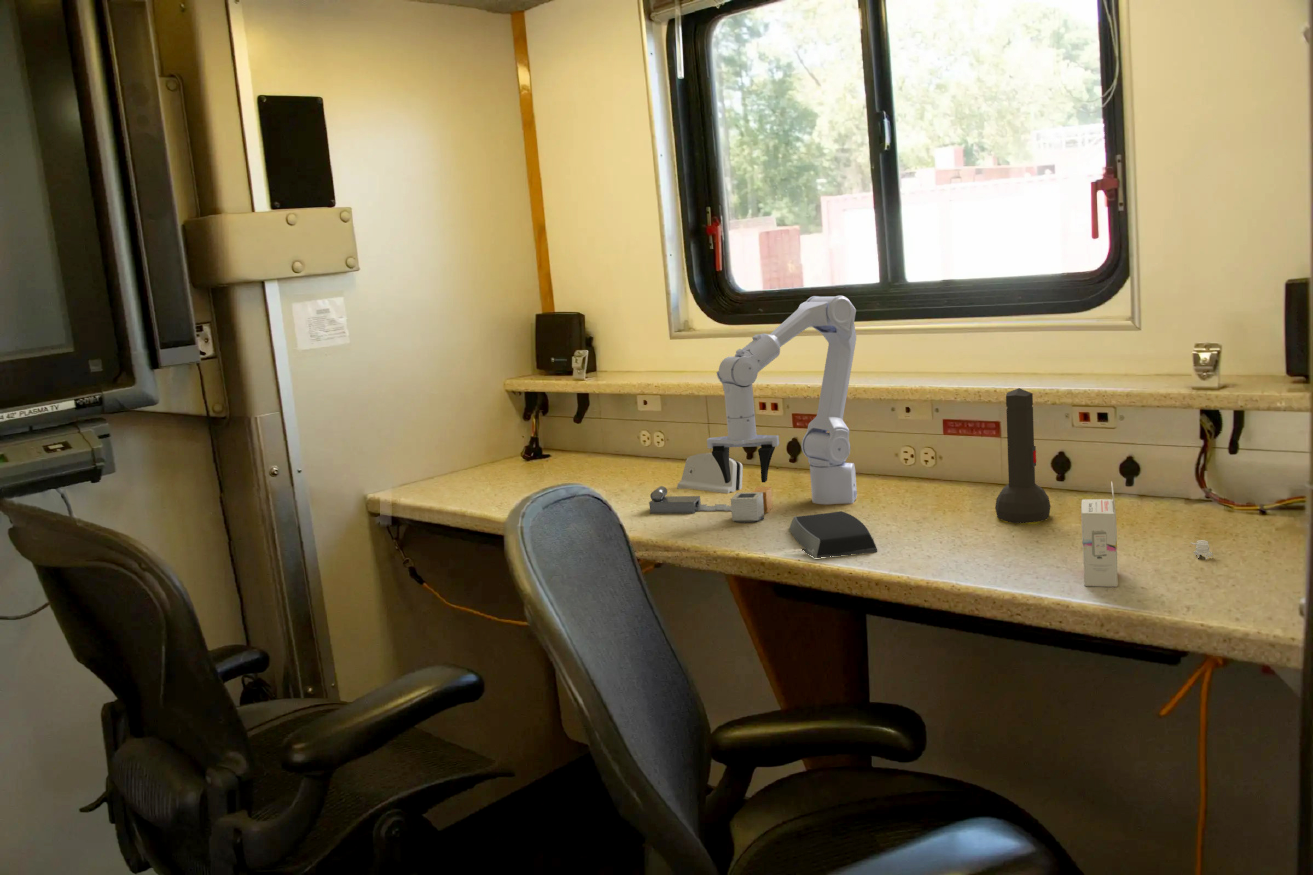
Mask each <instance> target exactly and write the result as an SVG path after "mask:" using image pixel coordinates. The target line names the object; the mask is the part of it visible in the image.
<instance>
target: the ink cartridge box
mask: <svg viewBox="0 0 1313 875" xmlns="http://www.w3.org/2000/svg"><path fill="white" fill-rule="evenodd" d="M1113 482H1114V481H1112V480H1111V482H1110V483H1111V484H1110V485H1111V494H1112V499H1108V498H1105V499H1104V498H1103V499H1100V498H1099V499H1089V498H1088V499H1081V502H1080V503H1081V504H1080V505H1081V506H1080V521H1081V540H1082V556H1083V558H1082V559H1083V579H1084V580H1083V581H1084V583H1083V584H1084V587H1109V588H1112V587H1113V588H1115V587H1118V530H1117V528H1118V527H1117V510H1116V502H1115V491H1114V484H1113Z"/></svg>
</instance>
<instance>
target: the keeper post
mask: <svg viewBox="0 0 1313 875" xmlns="http://www.w3.org/2000/svg"><path fill="white" fill-rule="evenodd" d="M764 519H765V514H763V515H762V517H761V518H760V519H759V520H749V521H733V522H734V523H736V524H737V523H738V524H753V523H754V524H755V523H758V522H762V521H763V520H764Z"/></svg>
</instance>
